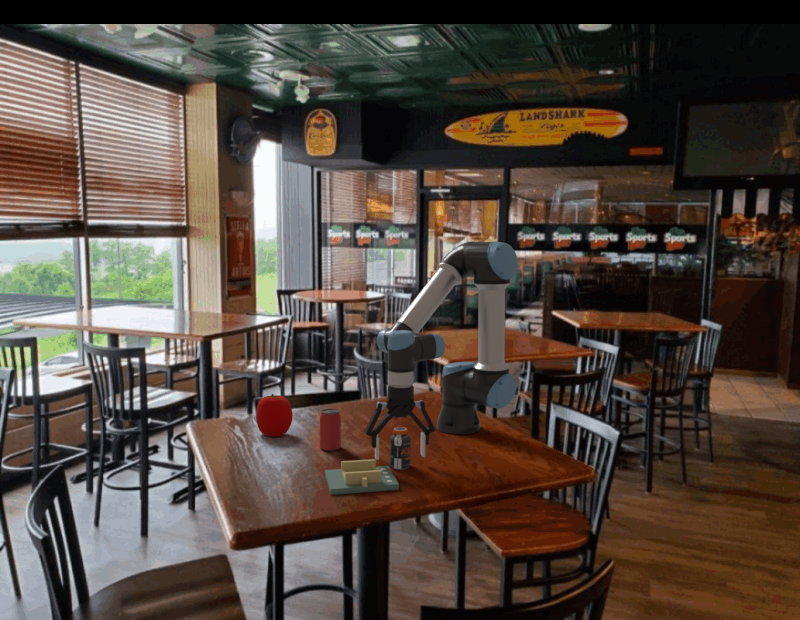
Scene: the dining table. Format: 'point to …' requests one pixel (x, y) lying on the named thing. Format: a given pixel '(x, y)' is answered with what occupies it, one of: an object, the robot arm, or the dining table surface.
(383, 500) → the dining table surface
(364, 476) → the board
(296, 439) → the dining table surface
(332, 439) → the beer can
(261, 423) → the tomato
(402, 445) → the pill bottle
